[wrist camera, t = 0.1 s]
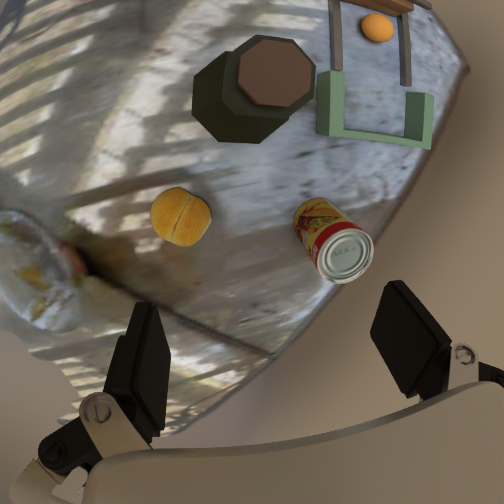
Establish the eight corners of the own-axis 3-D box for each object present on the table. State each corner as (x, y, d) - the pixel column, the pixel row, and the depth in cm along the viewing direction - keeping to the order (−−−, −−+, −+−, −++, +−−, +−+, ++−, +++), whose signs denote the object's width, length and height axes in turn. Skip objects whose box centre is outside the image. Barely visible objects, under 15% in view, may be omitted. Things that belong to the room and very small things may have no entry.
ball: (355, 14, 27) (370, 6, 23) (382, 22, 28) (399, 16, 23) (356, 40, 29) (372, 34, 25) (383, 47, 30) (401, 43, 26)
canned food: (283, 226, 43) (304, 266, 33) (314, 187, 41) (347, 216, 30) (318, 250, 46) (344, 292, 36) (347, 215, 44) (384, 249, 33)
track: (324, -33, 22) (328, -37, 21) (398, -10, 24) (403, -12, 22) (330, 70, 32) (335, 68, 31) (405, 86, 33) (411, 86, 32)
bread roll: (166, 178, 38) (160, 185, 34) (218, 206, 41) (219, 216, 37) (143, 224, 40) (136, 235, 37) (193, 249, 44) (191, 262, 40)
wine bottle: (270, 122, 35) (405, 158, 9) (213, 141, 36) (198, 226, 10) (251, 68, 31) (344, -34, 5) (193, 87, 32) (116, 17, 6)
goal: (317, 74, 32) (330, 70, 28) (415, 94, 34) (433, 95, 30) (316, 132, 37) (329, 136, 32) (412, 144, 38) (430, 149, 34)
